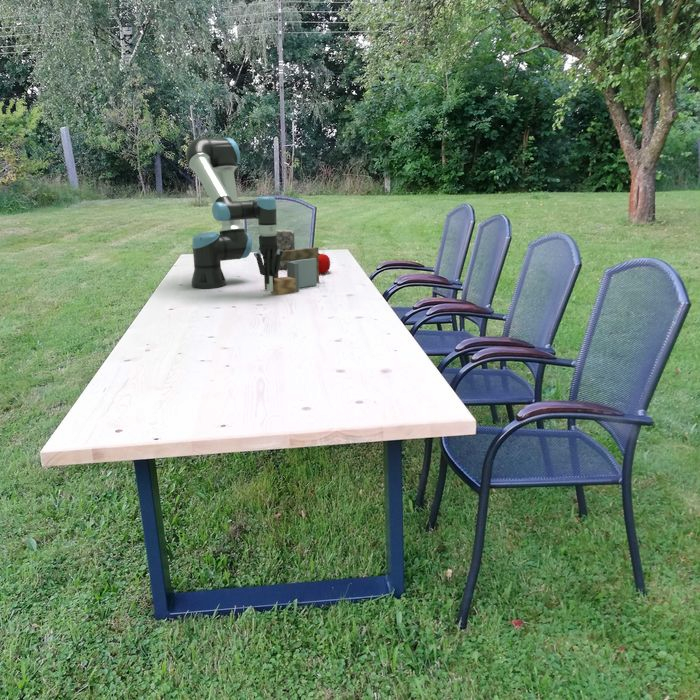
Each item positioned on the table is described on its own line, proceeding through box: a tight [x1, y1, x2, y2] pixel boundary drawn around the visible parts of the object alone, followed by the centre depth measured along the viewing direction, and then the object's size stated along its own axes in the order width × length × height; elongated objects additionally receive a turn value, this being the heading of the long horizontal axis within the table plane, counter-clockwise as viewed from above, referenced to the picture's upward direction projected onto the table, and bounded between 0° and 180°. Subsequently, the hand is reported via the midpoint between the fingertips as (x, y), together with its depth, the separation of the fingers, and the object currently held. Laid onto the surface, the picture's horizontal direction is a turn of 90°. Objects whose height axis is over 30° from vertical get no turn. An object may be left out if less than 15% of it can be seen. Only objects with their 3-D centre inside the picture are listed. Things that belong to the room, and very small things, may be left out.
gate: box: [286, 258, 318, 292], centre depth 278 cm, size 15×6×12 cm, turn 128°
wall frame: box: [263, 246, 320, 291], centre depth 283 cm, size 28×2×16 cm, turn 128°
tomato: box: [319, 252, 331, 275], centre depth 313 cm, size 11×13×10 cm
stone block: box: [275, 229, 296, 271], centre depth 322 cm, size 13×7×20 cm, turn 96°
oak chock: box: [270, 275, 297, 296], centre depth 271 cm, size 9×6×6 cm, turn 128°
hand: (270, 291), depth 268 cm, fingers closed
